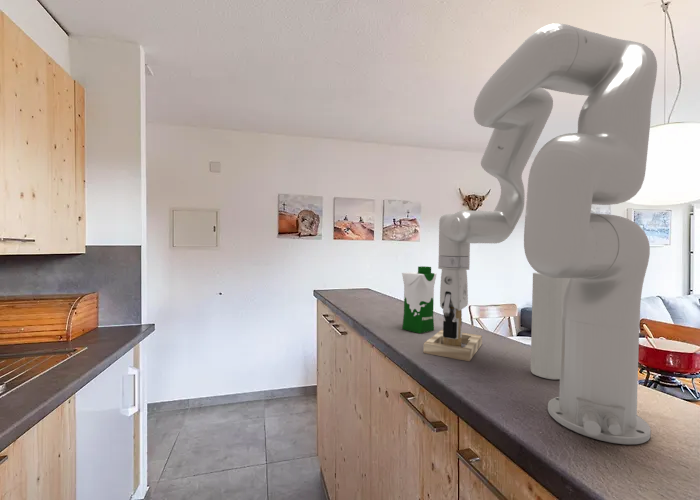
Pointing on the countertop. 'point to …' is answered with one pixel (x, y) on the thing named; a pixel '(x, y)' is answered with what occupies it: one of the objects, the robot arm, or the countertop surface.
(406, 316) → the milk carton
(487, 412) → the countertop surface
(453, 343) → the sprinkles bottle
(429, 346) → the wooden frame
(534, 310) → the paper towel roll
